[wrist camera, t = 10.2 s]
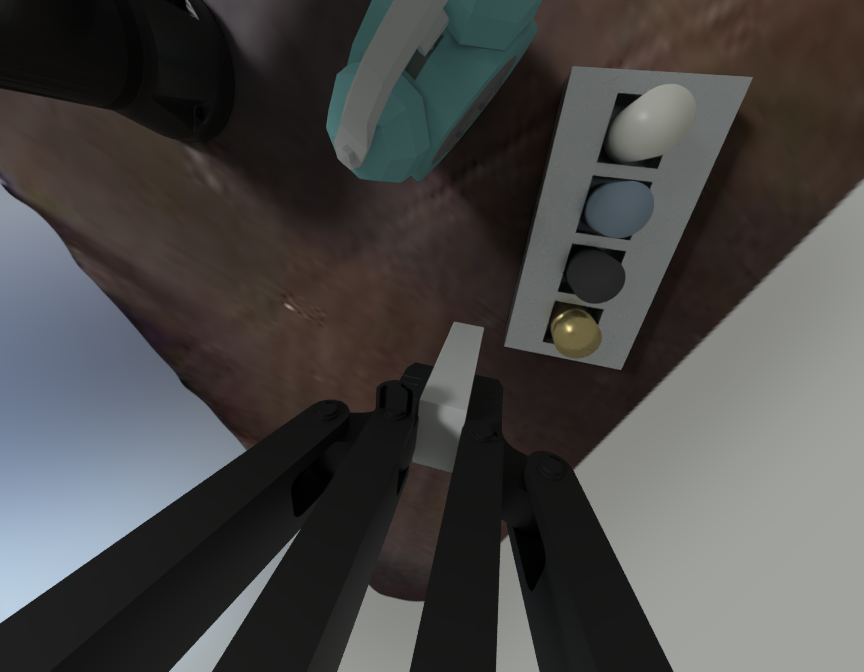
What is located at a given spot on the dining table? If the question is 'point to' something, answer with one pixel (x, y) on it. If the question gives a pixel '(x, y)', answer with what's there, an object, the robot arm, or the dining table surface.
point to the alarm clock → (422, 80)
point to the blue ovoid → (618, 208)
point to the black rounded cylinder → (594, 275)
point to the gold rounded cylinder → (574, 330)
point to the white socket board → (590, 166)
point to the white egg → (651, 124)
